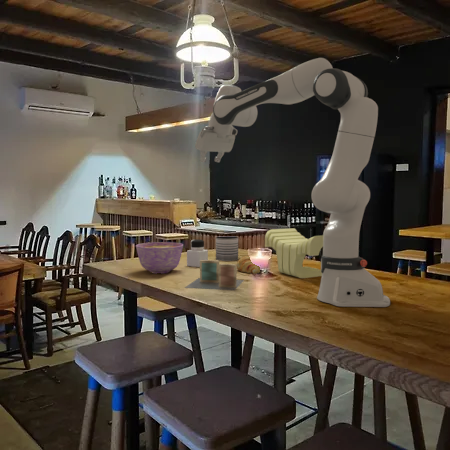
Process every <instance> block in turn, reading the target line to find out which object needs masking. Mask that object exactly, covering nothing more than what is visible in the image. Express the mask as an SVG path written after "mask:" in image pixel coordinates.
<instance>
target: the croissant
mask: <svg viewBox="0 0 450 450" xmlns="http://www.w3.org/2000/svg"><path fill="white" fill-rule="evenodd" d="M249 256H250V255H245V256H242V257H240V258H238V261H237V262H236V264H237V271H239V272H241V273H247V274H253V275H257V273H258V274H259V273H260V272H261V271H260V267H259V266H257V265H255V264H253V263H252V262H251V260H250V257H249Z"/></svg>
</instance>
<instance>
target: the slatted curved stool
mask: <svg viewBox="0 0 450 450" xmlns="http://www.w3.org/2000/svg"><path fill="white" fill-rule="evenodd" d="M264 248H272V249H273V250H274V251H275V253H276V254H275V255H276V260H277V269H278V272H279V273H280V274H284V275H288V276H291V277H292V276H293V277H295V278H300V279H306V278H307V279H309V278H317V277H322V272H321V269H319V268H315V267H311V266H303V265H304V264H303V263H304V260H305V258H306V256H307V255H308V256H309V257H313V256H319V255H320V251H321V249H323V234H322V235H314V236H312V237H310V238H306V237H305V236H304V235H302V234H301V232H298V230H297V229H296V228H295V227H294V228H273V229H269V230H267V232H266V233H265V236H264Z"/></svg>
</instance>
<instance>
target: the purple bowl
mask: <svg viewBox="0 0 450 450" xmlns="http://www.w3.org/2000/svg"><path fill="white" fill-rule="evenodd" d="M135 248H136V252H137V256H138V260H139V263H140V265H141V267H142V268H143V269H144V270H146V271H148V272H150V273H151V272H152V274H157V273H161V274H167V273H170V272H171V271H173V270H175V269H176V268H177V267H178V266H179V265H180V261H181V257H182V252H183V248H184V244H183V243H180V242H171V241H170V242H169V241H168V242H167V241H166V242H164V241H163V242H161V241H160V242H157V241H156V242H145V243H138V244H136V245H135Z"/></svg>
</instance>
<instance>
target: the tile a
mask: <svg viewBox="0 0 450 450" xmlns="http://www.w3.org/2000/svg"><path fill="white" fill-rule="evenodd" d="M219 264H220V260H217V259H214V260H210V259H208V260H200V267H199V278H200V282H217V283H218V282H219Z"/></svg>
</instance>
